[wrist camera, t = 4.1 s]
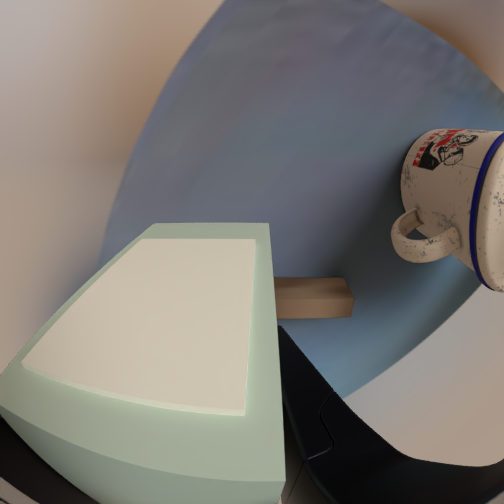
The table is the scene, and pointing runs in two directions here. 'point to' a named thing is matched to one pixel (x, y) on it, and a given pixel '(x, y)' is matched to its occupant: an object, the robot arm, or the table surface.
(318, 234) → the table surface
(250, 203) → the table surface
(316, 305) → the wooden block
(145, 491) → the sage tin
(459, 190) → the teacup with lid
